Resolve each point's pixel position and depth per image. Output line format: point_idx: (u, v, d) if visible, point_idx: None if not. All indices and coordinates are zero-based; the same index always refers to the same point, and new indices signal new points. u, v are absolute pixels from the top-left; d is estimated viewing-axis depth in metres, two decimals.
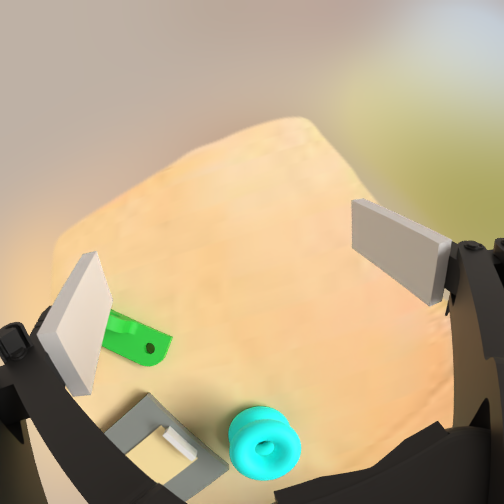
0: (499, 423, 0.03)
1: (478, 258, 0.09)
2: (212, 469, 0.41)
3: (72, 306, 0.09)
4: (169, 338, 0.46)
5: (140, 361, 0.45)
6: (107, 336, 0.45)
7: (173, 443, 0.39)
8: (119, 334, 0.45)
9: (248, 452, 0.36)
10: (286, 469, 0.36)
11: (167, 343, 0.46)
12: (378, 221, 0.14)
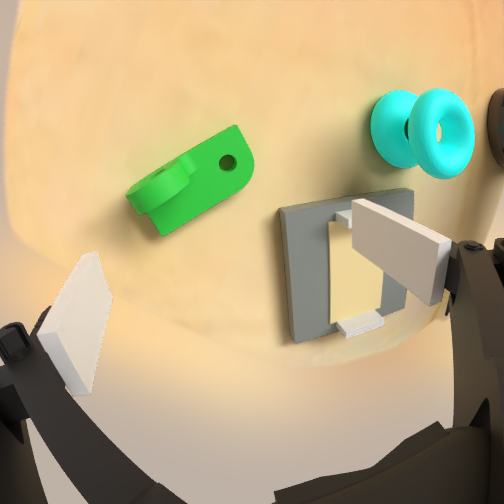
0: (499, 423, 0.03)
1: (478, 258, 0.09)
2: (403, 207, 0.37)
3: (72, 306, 0.09)
4: (236, 127, 0.29)
5: (234, 188, 0.31)
6: (172, 210, 0.31)
7: None
8: (181, 190, 0.30)
9: (439, 148, 0.26)
10: (473, 135, 0.26)
11: (240, 135, 0.29)
12: (378, 221, 0.14)
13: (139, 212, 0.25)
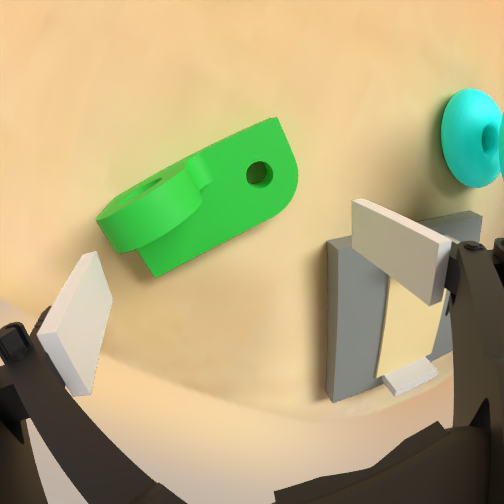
0: (499, 423, 0.03)
1: (478, 258, 0.09)
2: (470, 236, 0.26)
3: (72, 306, 0.09)
4: (276, 121, 0.19)
5: (266, 212, 0.21)
6: (170, 240, 0.20)
7: None
8: None
9: None
10: None
11: (281, 133, 0.19)
12: (378, 221, 0.14)
13: (116, 249, 0.15)
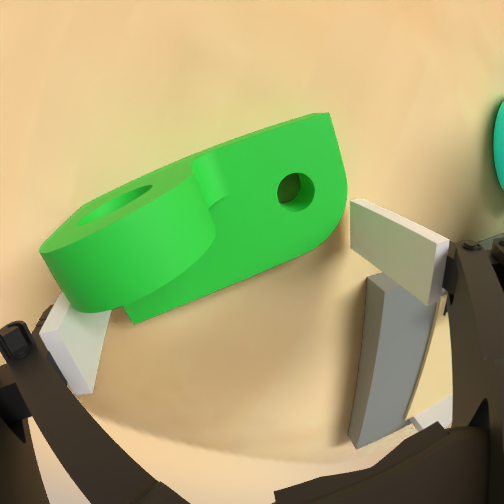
0: (498, 423, 0.03)
1: (476, 257, 0.09)
2: None
3: None
4: (327, 118, 0.13)
5: (299, 246, 0.15)
6: None
7: None
8: None
9: None
10: None
11: (332, 136, 0.13)
12: (376, 221, 0.14)
13: (70, 302, 0.08)
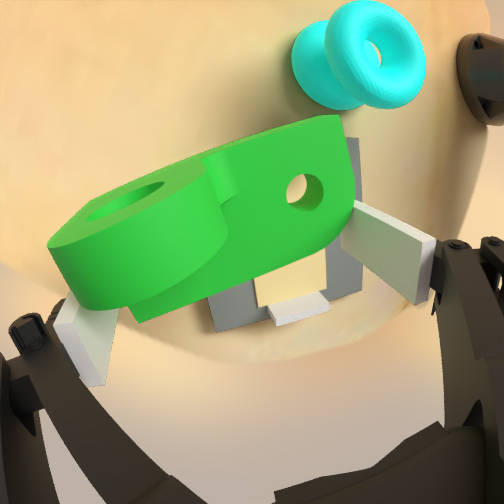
0: (493, 425, 0.03)
1: (463, 256, 0.09)
2: None
3: None
4: (337, 120, 0.13)
5: (306, 247, 0.15)
6: None
7: None
8: None
9: (370, 65, 0.20)
10: (422, 54, 0.20)
11: (341, 138, 0.13)
12: (364, 220, 0.14)
13: (77, 299, 0.08)
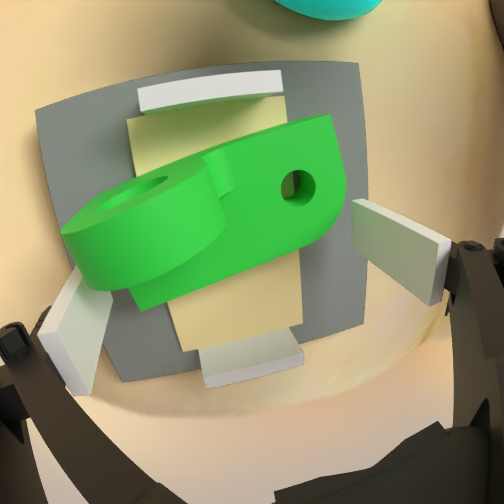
0: (499, 423, 0.03)
1: (477, 257, 0.09)
2: (335, 93, 0.16)
3: (72, 306, 0.09)
4: (328, 120, 0.14)
5: (300, 239, 0.16)
6: None
7: (188, 95, 0.11)
8: None
9: None
10: None
11: (332, 136, 0.14)
12: (378, 221, 0.14)
13: (87, 282, 0.09)
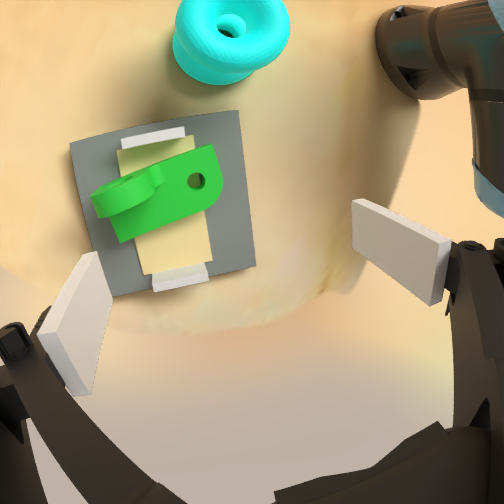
0: (499, 423, 0.03)
1: (478, 258, 0.09)
2: (223, 129, 0.31)
3: (72, 306, 0.09)
4: (211, 147, 0.29)
5: (198, 207, 0.31)
6: (133, 218, 0.30)
7: (142, 141, 0.27)
8: (145, 200, 0.29)
9: (215, 34, 0.21)
10: (282, 16, 0.21)
11: (213, 155, 0.30)
12: (378, 221, 0.14)
13: (99, 215, 0.24)
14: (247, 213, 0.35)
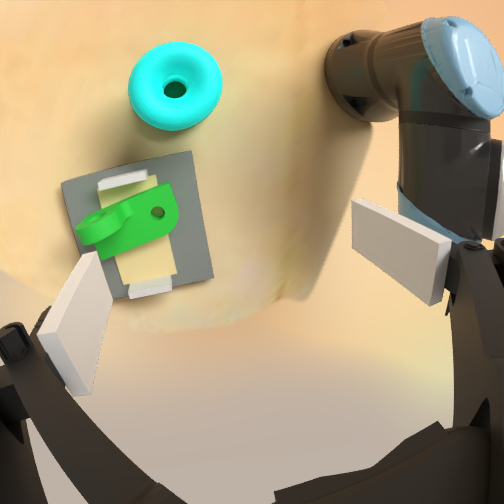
0: (499, 423, 0.03)
1: (478, 258, 0.09)
2: (180, 168, 0.39)
3: (72, 306, 0.09)
4: (168, 185, 0.37)
5: (160, 233, 0.39)
6: (110, 241, 0.37)
7: (113, 184, 0.34)
8: (119, 228, 0.37)
9: (157, 100, 0.28)
10: (212, 76, 0.28)
11: (170, 192, 0.37)
12: (378, 221, 0.14)
13: (82, 243, 0.32)
14: (203, 235, 0.43)
